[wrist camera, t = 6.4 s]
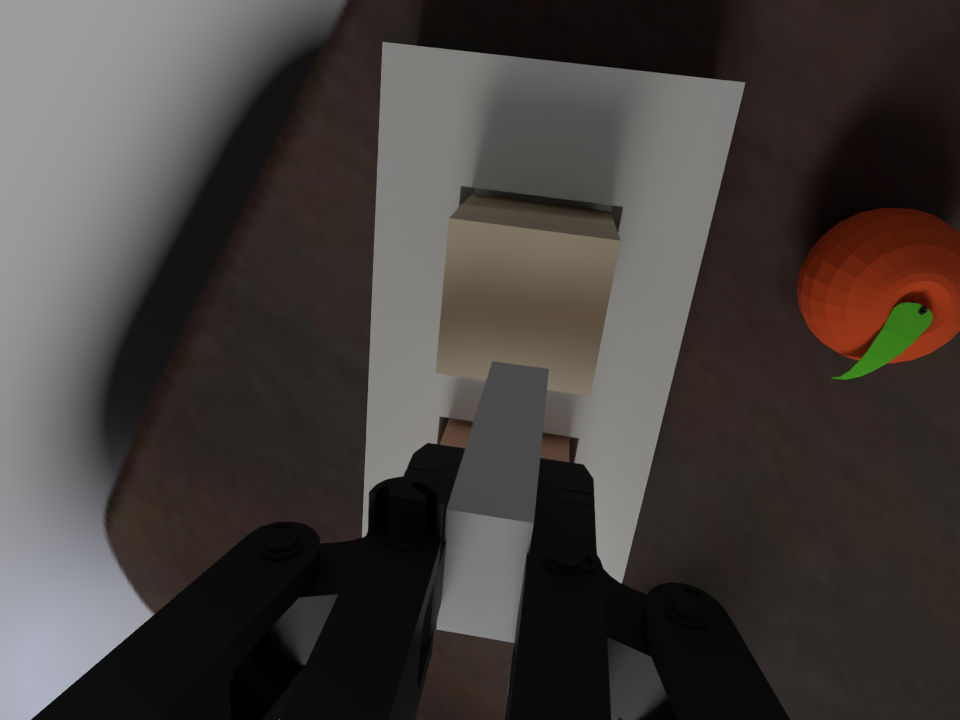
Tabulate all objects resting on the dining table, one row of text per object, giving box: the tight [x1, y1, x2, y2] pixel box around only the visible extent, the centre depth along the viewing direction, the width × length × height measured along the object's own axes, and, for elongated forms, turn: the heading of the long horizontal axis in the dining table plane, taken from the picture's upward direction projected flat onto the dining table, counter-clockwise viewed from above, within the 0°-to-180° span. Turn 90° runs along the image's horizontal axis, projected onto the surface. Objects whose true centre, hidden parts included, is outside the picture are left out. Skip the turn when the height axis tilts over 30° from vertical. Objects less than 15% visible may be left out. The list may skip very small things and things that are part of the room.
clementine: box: [797, 208, 960, 380], centre depth 29 cm, size 8×7×7 cm
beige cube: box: [436, 193, 620, 396], centre depth 26 cm, size 6×6×6 cm
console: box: [362, 42, 745, 584], centre depth 33 cm, size 28×14×6 cm, turn 174°
